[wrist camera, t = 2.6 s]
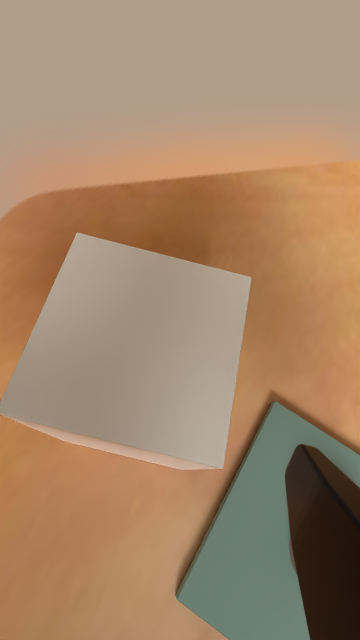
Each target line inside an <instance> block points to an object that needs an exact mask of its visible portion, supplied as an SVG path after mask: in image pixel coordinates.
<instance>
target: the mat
mask: <svg viewBox="0 0 360 640" xmlns="http://www.w3.org/2000/svg"><path fill="white" fill-rule="evenodd" d="M299 444H305V445H309V446H313V447H316V448H317V449H319V450H320V451H321V452H322V453H323V454H324V455H325V456H326V457H327V458H328V459H329V460H330V461H331V462H333V463H334V464H335V465H336V466H337V467H338V468H339V469H340V470H341V471H342V472H343V473H344V474H345V475H346V476H348V477H349V478H350V479H351V480H352V481H353V482H354V483H355V484H356V485H357V486H358V487H359V488H360V455H359V454H357V453H356V452H354V451H352V450H351V449H349V448H348V447H346V446H345V445H343V444H342V443H340V442H338V441H337V440H335V439H334V438H332V437H331V436H329V435H328V434H326V433H324V432H323V431H321V430H320V429H318V428H317V427H315V426H314V425H312V424H310V423H309V422H307V421H306V420H304V419H303V418H301V417H300V416H298V415H297V414H295V413H293V412H292V411H290V410H289V409H287V408H286V407H284V406H283V405H281V404H279V403H278V402H276V401H274V402H272V403H271V405H270V407H269V409H268V411H267V413H266V415H265V417H264V419H263V421H262V423H261V425H260V427H259V429H258V431H257V433H256V435H255V437H254V439H253V441H252V443H251V445H250V447H249V449H248V451H247V453H246V455H245V457H244V459H243V461H242V463H241V465H240V467H239V469H238V471H237V473H236V475H235V477H234V479H233V481H232V483H231V485H230V487H229V489H228V491H227V493H226V495H225V497H224V499H223V501H222V503H221V505H220V507H219V509H218V511H217V513H216V515H215V517H214V519H213V521H212V523H211V525H210V527H209V529H208V531H207V533H206V535H205V537H204V539H203V541H202V543H201V545H200V547H199V549H198V551H197V553H196V555H195V557H194V559H193V561H192V563H191V565H190V567H189V569H188V571H187V573H186V575H185V577H184V579H183V581H182V583H181V585H180V587H179V589H178V591H177V593H176V598H177V600H178V601H179V602H181V603H182V604H183V605H185V606H186V607H187V608H189V609H190V610H191V611H192V612H194V613H195V614H196V615H198V616H199V617H200V618H202V619H203V620H204V621H206V622H207V623H208V624H209V625H211V626H212V627H213V628H215V629H216V630H217V631H219V632H220V633H221V634H223V635H224V636H225V637H226V638H228V639H229V640H310V637H309V632H308V627H307V622H306V617H305V612H304V607H303V602H302V597H301V592H300V587H299V582H298V576H297V574H296V572H295V570H294V568H293V565H292V562H291V558H290V549H289V544H290V529H289V518H288V508H287V497H286V487H285V471H286V468H287V465H288V463H289V461H290V459H291V457H292V455H293V452H294V450H295V448H296V447H297V445H299Z"/></svg>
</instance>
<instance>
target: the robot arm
mask: <svg viewBox="0 0 360 640" xmlns="http://www.w3.org/2000/svg"><path fill="white" fill-rule="evenodd" d="M285 487H286V497H287V508H288V518H289V529H290V538H291V545H292V551H293V556H294V561H295V566H296V571H297V576H298V582H299V587H300V592H301V597H302V602H303V607H304V612H305V617H306V622H307V627H308V632H309V637H310V640H360V488H359V487H358V486H357V485H356V484H355V483H354V482H353V481H352V480H351V479H350V478H349V477H348V476H346V475H345V474H344V473H343V472H342V471H341V470H340V469H339V468H338V467H337V466H336V465H335V464H334V463H333V462H331V461H330V460H329V459H328V458H327V457H326V456H325V455H324V454H323V453H322V452H321V451H320V450H319V449H317V448H316V447H313V446H309V445H305V444H299V445H297V447H296V448H295V450H294V452H293V455H292V457H291V459H290V461H289V463H288V465H287V468H286V471H285Z"/></svg>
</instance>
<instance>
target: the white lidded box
mask: <svg viewBox="0 0 360 640" xmlns="http://www.w3.org/2000/svg"><path fill="white" fill-rule="evenodd" d="M251 278H252V277H249V276H245V275H241V274H237V273H233V272H229V271H226V270H222V269H218V268H214V267H210V266H206V265H202V264H198V263H194V262H191V261H187V260H183V259H179V258H175V257H171V256H167V255H163V254H159V253H156V252H152V251H148V250H144V249H140V248H136V247H132V246H128V245H124V244H120V243H117V242H113V241H109V240H105V239H101V238H97V237H93V236H89V235H85V234H82V233H78V232H77V233H76V236H75V238H74V240H73V242H72V244H71V247H70V249H69V251H68V253H67V256H66V258H65V260H64V262H63V264H62V267H61V269H60V271H59V273H58V275H57V278H56V280H55V282H54V284H53V287H52V289H51V291H50V293H49V295H48V298H47V300H46V302H45V304H44V306H43V309H42V311H41V313H40V315H39V318H38V320H37V322H36V324H35V326H34V329H33V331H32V333H31V335H30V337H29V340H28V342H27V344H26V346H25V348H24V351H23V353H22V355H21V357H20V360H19V362H18V364H17V366H16V368H15V371H14V373H13V375H12V377H11V379H10V382H9V384H8V386H7V388H6V391H5V393H4V395H3V397H2V399H1V402H0V415H2V416H4V417H7V418H9V419H12V420H14V421H16V422H19V423H21V424H24V425H26V426H28V427H31V428H33V429H36V430H38V431H40V432H43V433H45V434H48V435H50V436H52V437H55V438H57V439H60V440H62V441H65V442H69V443H73V444H77V445H81V446H85V447H89V448H93V449H97V450H101V451H106V452H110V453H114V454H118V455H122V456H126V457H130V458H134V459H138V460H142V461H146V462H150V463H155V464H159V465H163V466H167V467H171V468H175V469H179V470H193V469H223V466H224V459H225V452H226V446H227V439H228V432H229V426H230V419H231V412H232V405H233V399H234V392H235V385H236V379H237V372H238V365H239V359H240V352H241V345H242V338H243V332H244V325H245V318H246V312H247V305H248V298H249V292H250V285H251Z"/></svg>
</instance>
